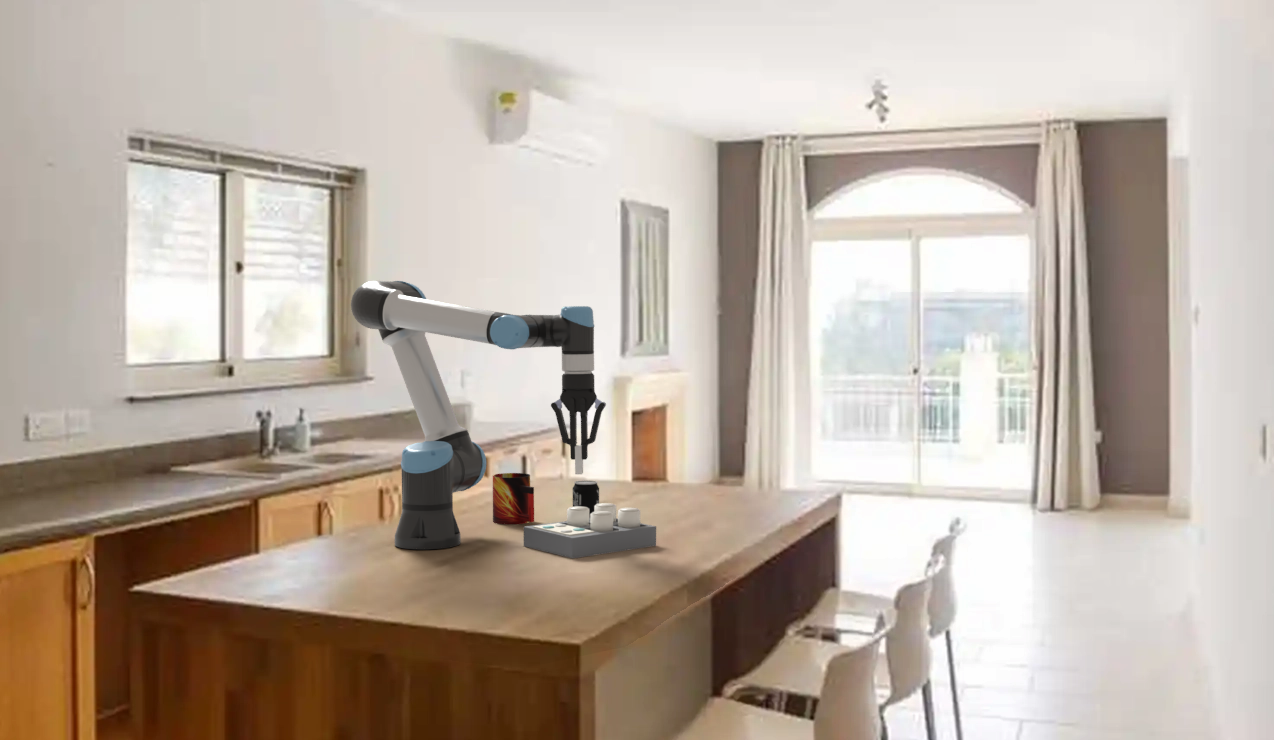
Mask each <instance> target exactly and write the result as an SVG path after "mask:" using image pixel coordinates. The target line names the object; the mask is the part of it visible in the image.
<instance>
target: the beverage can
mask: <svg viewBox="0 0 1274 740" xmlns="http://www.w3.org/2000/svg"><path fill="white" fill-rule="evenodd" d="M599 503H600V487H599V485H598V481H596V480H576V481H574V485H573V487H572V507H575V506H582V507H587V508H589V518H590V514H591V513H592V512H594V506H595V505H596V504H599Z"/></svg>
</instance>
